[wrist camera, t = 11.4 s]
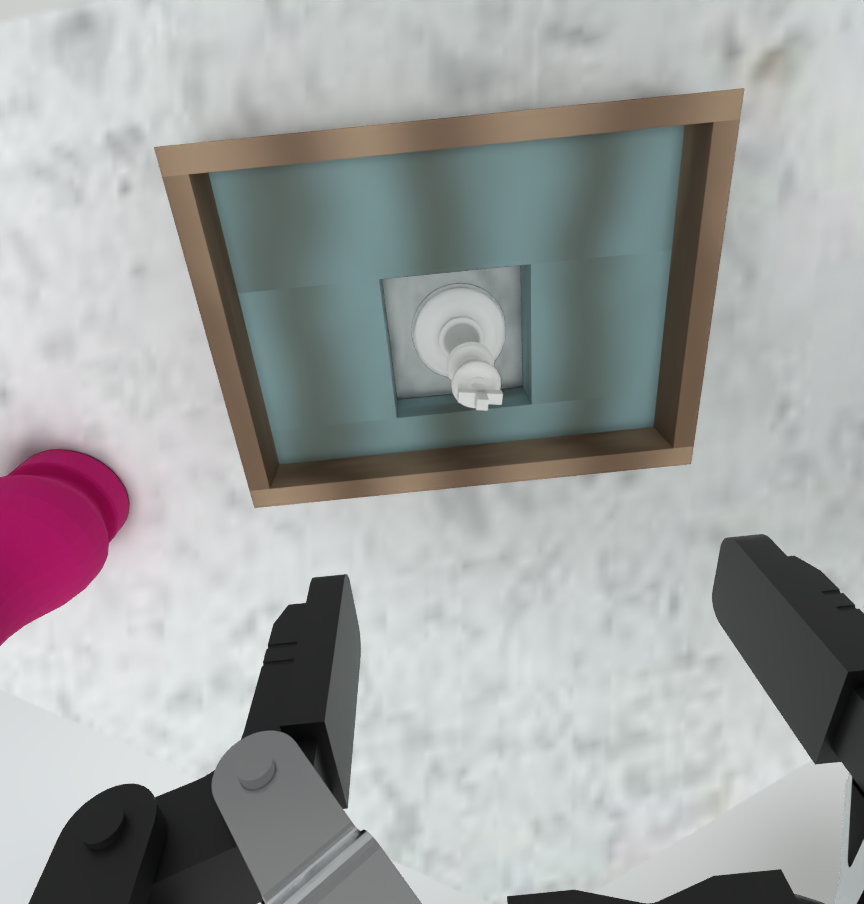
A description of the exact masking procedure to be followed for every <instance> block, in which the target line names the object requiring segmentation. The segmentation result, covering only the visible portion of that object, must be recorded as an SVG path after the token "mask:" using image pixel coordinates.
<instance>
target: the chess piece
mask: <svg viewBox="0 0 864 904" xmlns="http://www.w3.org/2000/svg"><path fill="white" fill-rule="evenodd" d="M505 335H506V328H505V319H504V315H503V312H502V310H501V308H500V306H499V304H498V303H497V301H496V300H495V299H494V298H493V297H492V296H491V295H490V294H489V293H488V292H486V291H485V290H483V289H481V288H479V287H476V286H474V285H470V284H451V285H447V286H444V287H441V288H439V289H437V290H435V291H434V292H432V293H431V294H430V295H428V296H427V297H426V298H425V299H424V300H423V302H422V303H421V304H420V306H419V307H418V309H417V311H416V313H415V316H414V319H413V324H412V339H413V344H414V347H415V349H416V351H417V353H418V355H419V357H420V358H421V360H422V361H423V362H424V363H425V365H426V366H427V367H429V368H430V369H431V370H433V371H434V372H436V373H438V374H440V375H442V376H445V377H449V379H450V380H451V381H452V382H451V389H452V393H453V395H454V397H455V398H456V400H457V401H458V403H461V404H462V405H464V406H466V407H470V408H476V410H484V411H488V404H494V405H502V399H503V393H502V391H501V390H500V388H501V379H500V375H499V373H498V371H497V370H496V369H495V367H494V361H495V360H496V359H497V357H498V356H499V354H500V352H501V350H502V348H503V345H504V341H505Z"/></svg>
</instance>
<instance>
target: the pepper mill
mask: <svg viewBox="0 0 864 904" xmlns="http://www.w3.org/2000/svg"><path fill="white" fill-rule="evenodd" d="M128 510H129V501H128V496H127V493H126V490H125V488H124V486H123V485H122V483H121V482H120V480H119V479H118V477H117V476H116V474H114V473H113V472H112V471H111V470H110V469H109V468H108V467H106V466H105V465H104V464H102V463H101V462H99V461H97V460H95V459H94V458H92V457H90V456H87V455H84V454H81V453H77V452H74V451H66V450H49V451H44V452H41V453H38V454H35V455H33V456H31V457H30V458H28V459H27V460H26V461H25V462H23V463H22V464H21V465H20V466H18V467H17V468H16V469H15V470H14V471H12V472H11V473H10V474H9V475H8V476H4V477H0V646H1V645H2V644H3V643H4V642H5V641H6V640H7V639H8V638H9V637H10V636H11V635H13V634H14V633H15V632H17V631H18V630H19V629H21V628H22V627H23V626H25V625H27V624H28V623H30V622H32V621H34V620H35V619H37V618H39V617H41V616H43V615H45V614H47V613H49V612H51V611H53V610H55V609H57V608H59V607H60V606H62V605H64V604H65V603H67V602H68V601H69V600H71V599H72V598H73V597H75V596H76V595H77V594H79V593H80V592H81V591H83V590H84V589H85V588H86V587H87V586H88V585H89V584H90V583H91V581H92V580H93V579H94V578H95V577H96V576H97V575H98V573H99V572H100V571H101V569H102V568H103V565H104V563H105V561H106V558H107V556H108V547H109V542H110V541H111V540H112V539H113V538H114V536H115V535H116V534H117V532H118V531H119V530H120V528H121V527H122V526H123V524H124V523H125V521H126V519H127V516H128Z"/></svg>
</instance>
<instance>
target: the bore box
mask: <svg viewBox="0 0 864 904" xmlns="http://www.w3.org/2000/svg"><path fill="white" fill-rule="evenodd" d="M743 94H744V88H742V89H732V90H722V91H712V92H702V93H692V94H682V95H672V96H662V97H652V98H642V99H632V100H622V101H612V102H602V103H592V104H581V105H571V106H561V107H551V108H541V109H531V110H521V111H511V112H501V113H491V114H481V115H471V116H461V117H451V118H441V119H431V120H421V121H411V122H401V123H391V124H381V125H371V126H361V127H351V128H341V129H331V130H321V131H311V132H301V133H291V134H280V135H270V136H260V137H250V138H240V139H230V140H220V141H210V142H200V143H190V144H180V145H170V146H160V147H154V149H155V153H156V156H157V160H158V164H159V167H160V171H161V174H162V178H163V182H164V185H165V189H166V192H167V196H168V200H169V203H170V207H171V210H172V214H173V217H174V221H175V225H176V228H177V232H178V235H179V239H180V243H181V246H182V250H183V253H184V257H185V261H186V264H187V268H188V271H189V275H190V278H191V282H192V286H193V289H194V293H195V296H196V300H197V304H198V307H199V311H200V314H201V318H202V322H203V325H204V329H205V332H206V336H207V339H208V343H209V347H210V350H211V354H212V357H213V361H214V365H215V368H216V372H217V375H218V379H219V383H220V386H221V390H222V393H223V397H224V400H225V404H226V408H227V411H228V415H229V418H230V422H231V426H232V429H233V433H234V436H235V440H236V443H237V447H238V451H239V454H240V458H241V461H242V465H243V469H244V472H245V476H246V479H247V483H248V487H249V490H250V494H251V497H252V501H253V504H254V508H259V507H269V506H279V505H288V504H298V503H308V502H318V501H328V500H338V499H348V498H358V497H368V496H378V495H388V494H398V493H408V492H418V491H428V490H438V489H448V488H458V487H468V486H477V485H487V484H497V483H507V482H517V481H527V480H537V479H547V478H557V477H567V476H577V475H587V474H597V473H607V472H617V471H627V470H637V469H647V468H656V467H666V466H676V465H686V464H691V461H692V454H693V447H694V440H695V433H696V426H697V419H698V411H699V404H700V397H701V390H702V383H703V376H704V369H705V362H706V355H707V348H708V341H709V334H710V327H711V320H712V313H713V306H714V299H715V292H716V285H717V278H718V271H719V263H720V256H721V249H722V242H723V235H724V228H725V221H726V214H727V207H728V200H729V193H730V186H731V179H732V172H733V165H734V158H735V151H736V144H737V137H738V130H739V123H740V115H741V108H742V101H743ZM518 265H521V308H522V376H523V387H518V388H508V389H500V390H501V391H502V393H503V399H502V405H494V404H488V411H484V410H476V408H470V407H466V406H464V405H462V404H461V403H458V401H457V400H456V398H455V397H454V395H453V394H448V395H439V396H429V397H419V398H409V399H399V400H397V395H396V387H395V379H394V371H393V363H392V355H391V347H390V339H389V331H388V324H387V316H386V308H385V300H384V292H383V284H382V279H388V278H398V277H408V276H418V275H428V274H438V273H448V272H458V271H468V270H478V269H488V268H498V267H508V266H518Z"/></svg>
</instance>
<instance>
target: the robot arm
mask: <svg viewBox="0 0 864 904" xmlns="http://www.w3.org/2000/svg"><path fill="white" fill-rule="evenodd" d="M712 602H713V608H714V611H715V614H716V617H717V619H718V621H719V623H720V625H721V626H722V627H723V629H724V630H725V632H726V633H727V635H728V636H729V638H730V639H731V641H732V642H733V644H734V645H735V647H736V648H737V650H738V651H739V653H740V654H741V656H742V657H743V659H744V660H745V661H746V663H747V664H748V666H749V667H750V669H751V670H752V672H753V673H754V675H755V676H756V678H757V679H758V681H759V682H760V684H761V685H762V687H763V688H764V690H765V691H766V693H767V694H768V695H769V697H770V698H771V700H772V701H773V703H774V704H775V706H776V707H777V709H778V710H779V712H780V713H781V715H782V716H783V718H784V719H785V721H786V722H787V724H788V725H789V726H790V728H791V729H792V731H793V732H794V734H795V735H796V737H797V738H798V740H799V741H800V743H801V744H802V746H803V747H804V749H805V750H806V752H807V753H808V755H809V756H810V758H811V759H812V760H813V762H814V763H815V764H823V763H833V762H842V763H843V764H844V766H845V767H846V769H847V770H848V771H849V773H850V774H849V776H848V779H847V781H846V787H845V802H844V817H843V834H842V848H841V863H840V877H839V884H838V891H837V895H836V899H835V902H834V904H864V613H863V612H862V611H861V610H860V609H856V608H855V604H854V603H853V602H852V601H851V600H850V599H849V598H848V597H847V596H846V595H845V594H844V593H840V591H839V589H838V588H837V587H836V586H835V585H834V584H833V583H832V582H831V581H830V580H829V579H828V578H827V577H826V576H825V575H824V574H823V573H822V572H821V571H820V570H818V569H817V568H815V567H813V566H811V565H810V564H808V563H806V562H805V561H803V560H801V559H799V558H798V557H796V556H786V555H785V553H784V552H783V551H782V550H781V549H780V548H779V547H778V546H777V545H776V544H775V543H774V542H773V541H772V540H771V539H770V538H769V537H768V536H766V535H763V534H759V535H749V536H739V537H729V538H725V539H724V540H723V542H722V544H721V548H720V553H719V559H718V564H717V570H716V575H715V580H714V586H713V592H712ZM360 656H361V643H360V631H359V625H358V620H357V615H356V610H355V605H354V600H353V595H352V590H351V585H350V580H349V577H348V575H347V574H345V575H335V576H325V577H315V578H312V580H311V583H310V587H309V592H308V596H307V601H306V603H302V604H292V605H288V606H287V607H286V609H285V610H284V611H283V613H282V614H281V615H280V616H279V618H278V619H277V620H276V622H275V623H274V625H273V628H272V632H271V635H270V639H269V643H268V649H267V650H266V654H265V657H264V661H263V666H262V668H261V672H260V675H259V679H258V682H257V686H256V690H255V693H254V697H253V701H252V704H251V708H250V711H249V715H248V719H247V722H246V726H245V729H244V733H243V735H242V738H241V740H240V741H238V742H237V743H236V744H234V745H233V746H232V747H231V748H230V749H229V750H228V751H227V752H226V753H225V754H224V756H223V757H222V758H221V760H220V761H219V763H218V765H217V767H216V769H215V770H214V771H213V772H211V773H210V774H208V775H206V776H205V777H203V778H201V779H199V780H196V781H194V782H192V783H189V784H187V785H185V786H182V787H179V788H177V789H175V790H172V791H170V792H167V793H165V794H162V795H160V796H157V797H154V795H153V794H152V793H151V791H150V790H149V789H147V788H146V787H144V786H141V785H138V784H123V785H119V786H115V787H112V788H109V789H107V790H105V791H103V792H101V793H100V794H98V795H96V796H95V797H93V798H92V799H90V800H89V801H88V802H86V803H85V804H84V805H83V806H82V807H81V808H80V809H79V810H78V811H77V812H75V814H74V815H73V816H72V817H71V818H70V820H69V821H68V822H67V824H66V825H65V827H64V828H63V830H62V832H61V834H60V836H59V837H58V840H57V842H56V844H55V846H54V849H53V851H52V853H51V855H50V857H49V860H48V862H47V864H46V866H45V869H44V871H43V873H42V875H41V877H40V879H39V882H38V884H37V887H36V888H35V891H34V893H33V895H32V897H31V899H30V902H29V904H257V903H259V902H261V904H422V903H421V902H420V901H419V899H418V898H417V896H416V895H415V894H414V892H413V891H412V889H411V888H410V887H409V885H408V884H407V882H406V881H405V880H404V878H403V877H402V876H401V874H400V873H399V871H398V870H397V869H396V867H395V866H394V865H393V863H392V862H391V860H390V859H389V858H388V856H387V855H386V853H385V852H384V851H383V849H382V848H381V846H380V845H379V844H378V842H377V841H376V840H375V839H374V838H373V836H372V835H371V834H370V833H369V832H367V831H366V830H362V831H359V830H358V829H357V828H356V827H355V825H354V824H353V823H352V821H351V820H350V819H349V817H348V816H347V814H346V813H345V811H344V810H343V809H346V808H348V798H349V786H350V775H351V763H352V751H353V739H354V728H355V716H356V704H357V692H358V681H359V669H360ZM507 903H508V904H646V903H639V902H634V901H629V900H624V899H619V898H614V897H609V896H604V895H598V894H593V893H588V892H583V891H578V890H567V891H557V892H547V893H537V894H527V895H516V896H507ZM650 904H824V903H822V902H819V901H816V900H813V899H810V898H807V897H804V896H801V895H797V894H794V893H793V891H792V890H791V888H790V886H789V884H788V882H787V880H786V878H785V876H784V874H783V872H782V871H781V869H780V870H770V871H760V872H750V873H739V874H730V875H719V876H713V877H710V878H709V879H706V880H704V881H702V882H700V883H698V884H695V885H693V886H691V887H689V888H687V889H685V890H682V891H680V892H678V893H676V894H674V895H671V896H669V897H667V898H665V899H663V900H660V901H659V902H655V903H650Z"/></svg>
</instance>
